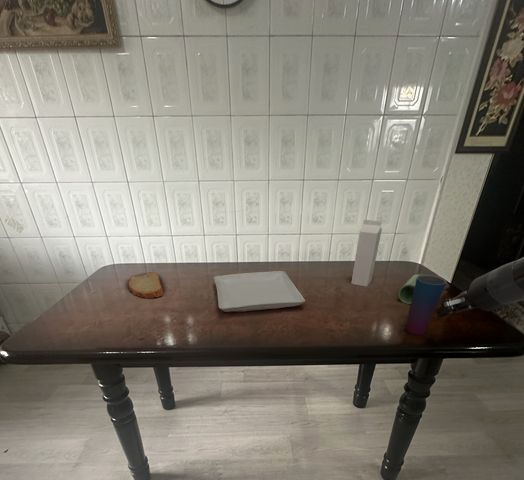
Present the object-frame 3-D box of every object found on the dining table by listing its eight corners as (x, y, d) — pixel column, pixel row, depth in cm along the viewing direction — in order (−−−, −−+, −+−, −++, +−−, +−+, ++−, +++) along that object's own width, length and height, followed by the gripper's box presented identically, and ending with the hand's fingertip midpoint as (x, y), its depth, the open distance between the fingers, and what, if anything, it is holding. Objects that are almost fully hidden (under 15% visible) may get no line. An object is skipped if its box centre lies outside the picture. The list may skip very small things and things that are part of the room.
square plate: (220, 319, 91) (219, 307, 89) (214, 284, 113) (213, 274, 111) (305, 310, 95) (306, 299, 93) (283, 278, 117) (284, 269, 115)
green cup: (431, 276, 100) (423, 287, 93) (425, 294, 104) (417, 306, 97) (411, 272, 103) (401, 282, 96) (406, 290, 107) (396, 301, 100)
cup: (397, 330, 85) (412, 279, 76) (408, 321, 88) (423, 272, 80) (422, 339, 81) (440, 286, 72) (432, 329, 85) (450, 279, 76)
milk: (355, 278, 117) (366, 218, 104) (371, 281, 114) (384, 219, 101) (350, 284, 112) (361, 221, 100) (367, 287, 110) (379, 223, 97)
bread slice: (157, 300, 103) (155, 289, 100) (112, 294, 107) (109, 285, 104) (182, 280, 117) (180, 271, 115) (142, 276, 121) (139, 267, 119)
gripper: (525, 265, 61) (456, 296, 77) (471, 271, 58) (412, 302, 75) (537, 299, 59) (465, 324, 76) (483, 308, 57) (420, 331, 73)
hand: (438, 313), depth 75 cm, fingers closed
